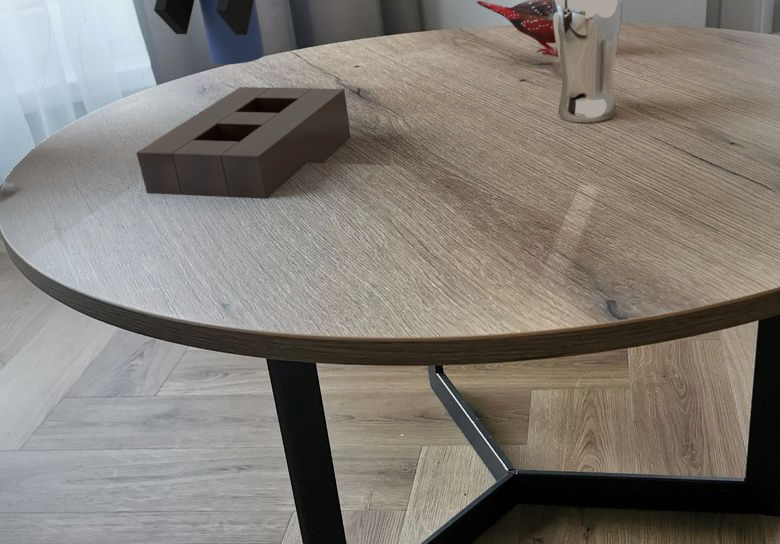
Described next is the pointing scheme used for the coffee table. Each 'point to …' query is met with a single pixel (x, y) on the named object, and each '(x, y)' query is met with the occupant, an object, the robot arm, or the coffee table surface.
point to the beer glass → (587, 57)
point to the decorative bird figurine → (530, 20)
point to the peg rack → (247, 143)
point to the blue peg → (230, 37)
